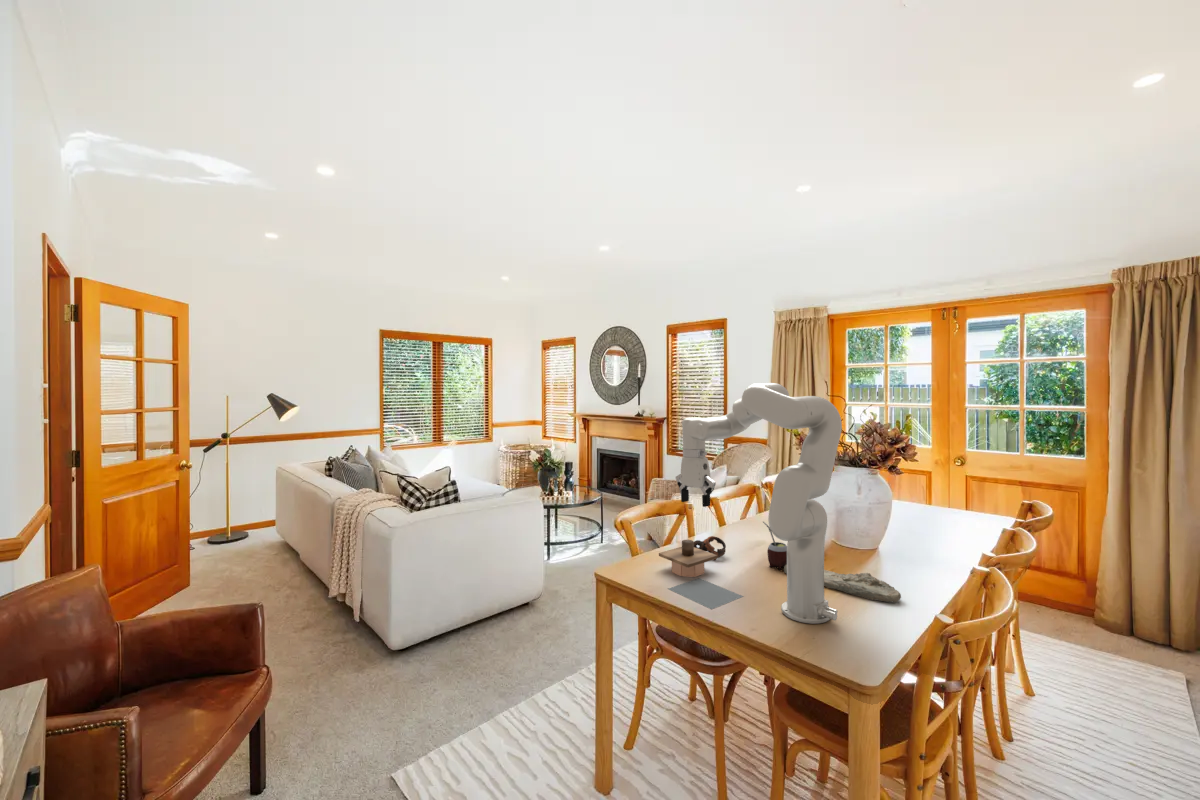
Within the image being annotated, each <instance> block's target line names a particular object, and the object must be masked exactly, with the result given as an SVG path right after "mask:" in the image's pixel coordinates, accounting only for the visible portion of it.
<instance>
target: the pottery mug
mask: <svg viewBox="0 0 1200 800" xmlns="http://www.w3.org/2000/svg"><path fill="white" fill-rule="evenodd" d="M693 541H694V547H695V548H698V549H701V550H704V551H707V552H709V553H712V554H715V555H718V558H721V557H723V556H724V555H725V554H726V548H727V546H726V543H725V541H724V540H723V539H722V538H720V537H718V536H714V535H711V536H708V537H707V538H705V539H704V540H702V541H701V540H700V539H697V540H693ZM714 541H716V543H718V544H720V545H722V548H717V550H715V547H714V546H712V544H711V543H712V542H714ZM718 558H717V559H718ZM717 559H714V560H713V561H716V560H717Z"/></svg>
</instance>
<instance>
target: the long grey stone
mask: <svg viewBox="0 0 1200 800" xmlns="http://www.w3.org/2000/svg"><path fill="white" fill-rule="evenodd" d="M783 572H784V574H785V573H786V574H785V575H787V564H786V565H785V566H784V568H783ZM824 586H825V587H824V588H827V589H830V588H831V590H837V591H841V592H844V593H847V594H850V595H853V596H859V597H860V598H861V597H862V598H864V599H867V600H871V601H875V600H877V601H881V602H888V603H897V602H898V601H900V600H901V598H902V594H901V592H900V591H899V590H897V589H895V587H894V586H891V585H890V584H889V583H888V582H886V581H884V580H880V579H878V578H877V577H874V576H872V575H871V573H869V572H860V573H847V574H845V573H838V572H834V571H830V570H827V569H824Z"/></svg>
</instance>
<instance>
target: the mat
mask: <svg viewBox="0 0 1200 800" xmlns="http://www.w3.org/2000/svg"><path fill="white" fill-rule="evenodd" d="M667 590H669V591H671V592H674V593H676V594H678V595H679V596H682V597H684V598H686V599H688V600H691V601H692V602H695V603H697V604H699V605H702V606H703V607H705V608H708V609H709V610H713V609H716V608H719V607H721V606H723V605H726V604H729V603H731V602H734V601H736V600H738V599H741V598H743V597H744V596H743V595H742V594H739V593H737V592H735V591H732V590H730V589H727V588H724V587H723V586H720V585H717V584H716V583H715V584H714V583H712V582H710V581H707V580H706V579H702V578H701V577H698V578H695V579H692V580H689V581H685V582H684V583H680V584H677V585H675V586H674V585H673V586H671V587H669V588H667Z"/></svg>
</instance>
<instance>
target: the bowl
mask: <svg viewBox="0 0 1200 800" xmlns="http://www.w3.org/2000/svg"><path fill="white" fill-rule="evenodd" d="M671 573H672V574H675V575H677V576H680V577H689V578H691V577H694V578H696V577H698V576H701V575H705V562H704V563H701V564H698V565H695V566H692V567H689V568H688V567H685V566H683V565H680V564H678V563H675V562H673V561H671Z"/></svg>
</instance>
